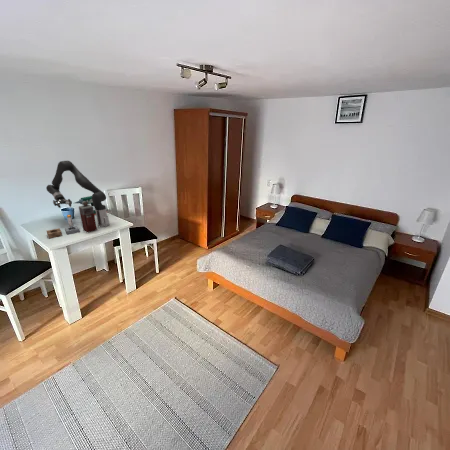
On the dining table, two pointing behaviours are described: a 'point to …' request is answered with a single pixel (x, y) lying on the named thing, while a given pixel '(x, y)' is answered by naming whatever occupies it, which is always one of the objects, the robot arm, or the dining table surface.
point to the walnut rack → (54, 233)
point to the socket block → (72, 230)
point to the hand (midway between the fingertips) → (65, 206)
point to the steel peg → (70, 222)
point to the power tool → (87, 199)
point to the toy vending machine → (87, 217)
